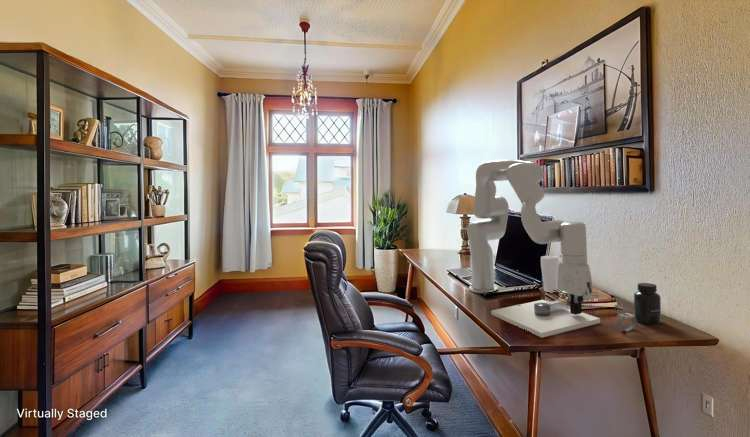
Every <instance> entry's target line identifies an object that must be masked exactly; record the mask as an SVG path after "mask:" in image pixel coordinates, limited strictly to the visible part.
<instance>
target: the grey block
mask: <svg viewBox="0 0 750 437" xmlns="http://www.w3.org/2000/svg"><path fill="white" fill-rule="evenodd" d="M567 307H568V300H565V298H562V299H559V298H558V299H557V300H552V301H549V302H547V303H535V304H534V313H535V314H536V315H540V316H548V315H550V313H552V312H557V311H561V310H565V309H567Z"/></svg>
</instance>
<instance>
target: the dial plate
mask: <svg viewBox="0 0 750 437" xmlns="http://www.w3.org/2000/svg"><path fill="white" fill-rule="evenodd" d="M547 302H550V301H549V300H545V299H540V300H535V301H534V300H533V301H531V302H525V303H521V304H519V303H518V304H515V305H511V306H507V307H501V308H497V309H493V310H491V311H490V312H491V315H492V316H494V317H496V318H498V319H500V320H502V321H505V322H507V323H509V324H511V325H513V326H516V327H517V326H518V327H517V328H520V329H522V330H524V329H525V331H526V330H527V331H526V332H528V331H529V333H530V332H531V333H530V334H533V335H535V336H537V337H539V338H542V339H543V338H546V337H549V336H551V337H552V336H554V335H559V334H563V333H566V332H570V331H574V330H578V329H582V328H586V327H589V326H594V325H597V324H601V318H600V317H597V316H594V315H591V314H589V313H585V312H582V313H581V314H577V315H574V314H571V313H570V307H568V306H567V309H565V310H561V311H557V312H552V313H550V315H548V316H540V315H536V314H535V313H534V304H535V303H547Z"/></svg>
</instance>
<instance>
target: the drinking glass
mask: <svg viewBox="0 0 750 437" xmlns="http://www.w3.org/2000/svg"><path fill="white" fill-rule="evenodd" d="M559 263H560V262H559V257H558V256H556V255H543V256H540V268H541V276H542V283H543V291H544V292H545V291H553V290H557V289H558V282H557V281H558V267H559ZM558 290H559V289H558Z"/></svg>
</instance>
